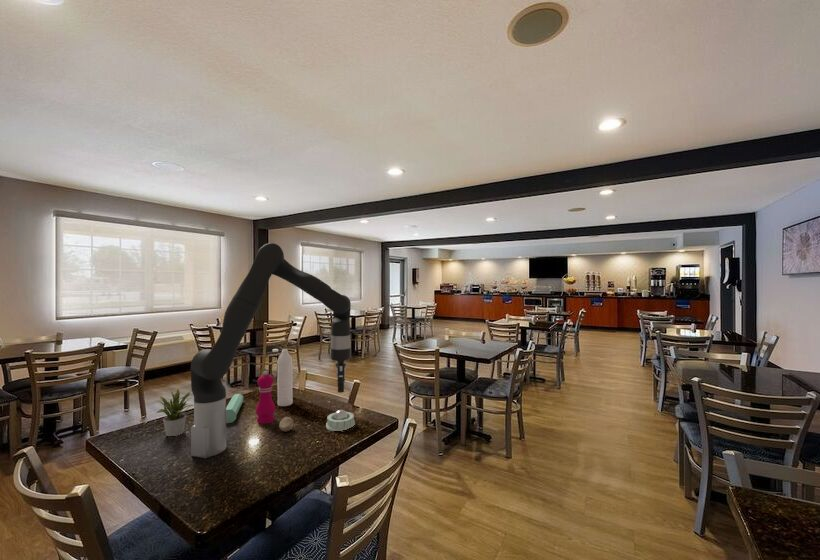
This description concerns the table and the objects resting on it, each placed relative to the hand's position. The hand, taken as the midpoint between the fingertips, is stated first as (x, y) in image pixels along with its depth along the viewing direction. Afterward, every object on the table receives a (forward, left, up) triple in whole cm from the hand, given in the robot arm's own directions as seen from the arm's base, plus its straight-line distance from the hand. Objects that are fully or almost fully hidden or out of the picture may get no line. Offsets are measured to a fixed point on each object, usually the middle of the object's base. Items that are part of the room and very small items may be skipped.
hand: (340, 388), depth 136 cm
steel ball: (0, 0, -13) cm, 13 cm away
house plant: (-25, +53, -15) cm, 60 cm away
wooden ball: (-10, +17, -14) cm, 25 cm away
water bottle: (+13, +37, -15) cm, 42 cm away
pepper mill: (-5, +31, -15) cm, 35 cm away
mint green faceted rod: (-1, +51, -15) cm, 53 cm away
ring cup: (0, 0, -14) cm, 14 cm away
